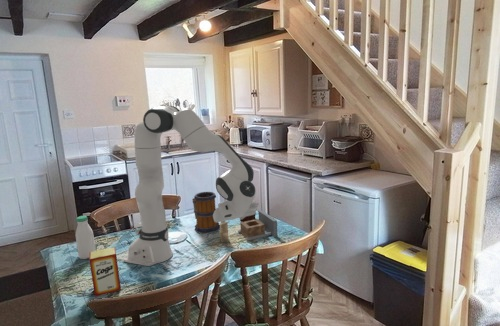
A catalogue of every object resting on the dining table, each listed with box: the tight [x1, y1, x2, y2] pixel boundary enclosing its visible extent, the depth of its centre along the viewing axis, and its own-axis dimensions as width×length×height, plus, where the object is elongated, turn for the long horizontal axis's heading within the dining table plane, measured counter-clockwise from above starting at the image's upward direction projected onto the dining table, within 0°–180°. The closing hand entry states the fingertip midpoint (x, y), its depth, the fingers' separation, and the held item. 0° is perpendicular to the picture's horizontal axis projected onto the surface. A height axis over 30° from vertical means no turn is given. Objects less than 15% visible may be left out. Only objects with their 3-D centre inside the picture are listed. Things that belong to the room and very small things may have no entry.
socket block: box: [240, 218, 266, 239], centre depth 181 cm, size 10×9×6 cm
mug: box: [192, 191, 220, 235], centre depth 192 cm, size 19×14×20 cm
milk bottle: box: [75, 215, 97, 260], centre depth 163 cm, size 8×8×20 cm
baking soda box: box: [88, 246, 122, 297], centre depth 135 cm, size 10×6×16 cm
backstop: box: [237, 209, 278, 241], centre depth 181 cm, size 16×18×9 cm
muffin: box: [239, 212, 257, 222], centre depth 201 cm, size 12×11×10 cm
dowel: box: [219, 220, 229, 243], centre depth 174 cm, size 4×4×10 cm
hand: (231, 220), depth 161 cm, fingers open, 8 cm apart
